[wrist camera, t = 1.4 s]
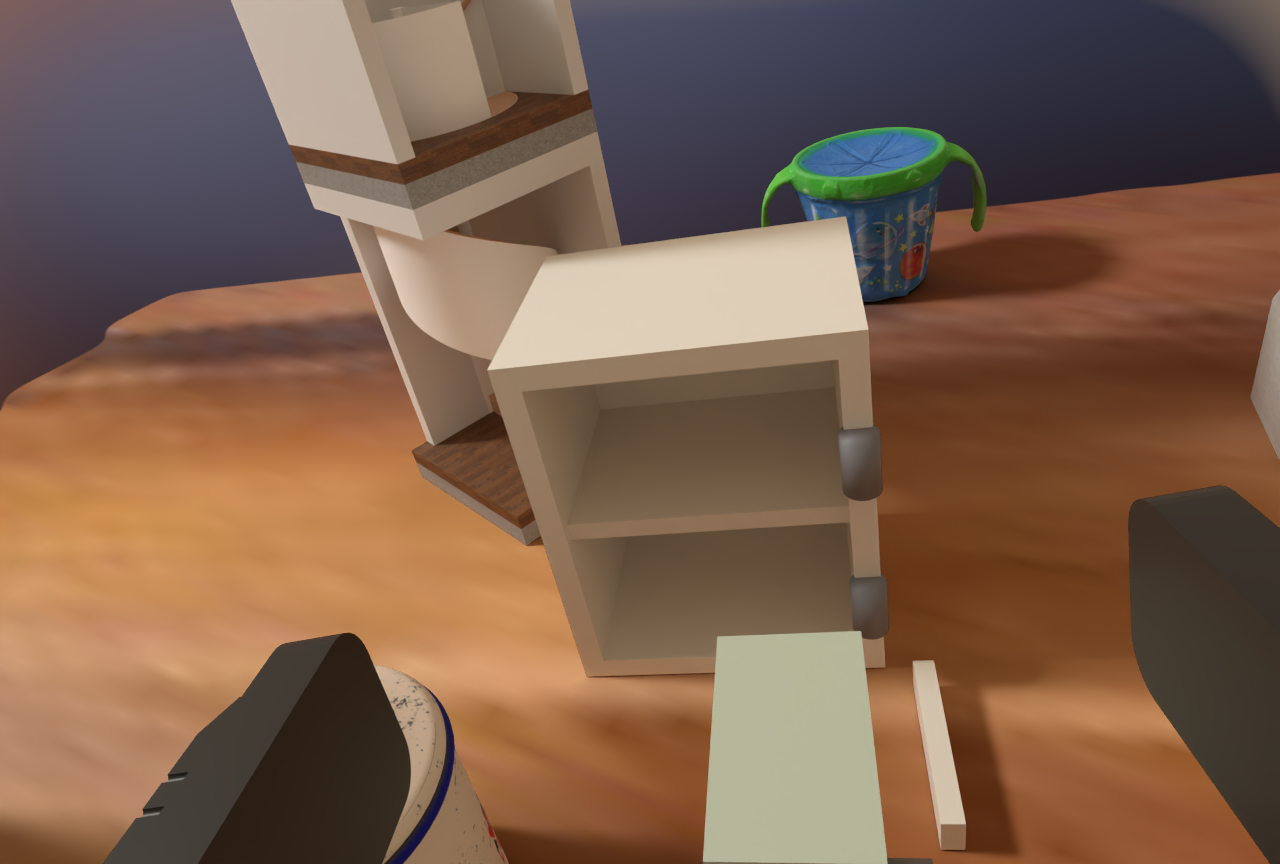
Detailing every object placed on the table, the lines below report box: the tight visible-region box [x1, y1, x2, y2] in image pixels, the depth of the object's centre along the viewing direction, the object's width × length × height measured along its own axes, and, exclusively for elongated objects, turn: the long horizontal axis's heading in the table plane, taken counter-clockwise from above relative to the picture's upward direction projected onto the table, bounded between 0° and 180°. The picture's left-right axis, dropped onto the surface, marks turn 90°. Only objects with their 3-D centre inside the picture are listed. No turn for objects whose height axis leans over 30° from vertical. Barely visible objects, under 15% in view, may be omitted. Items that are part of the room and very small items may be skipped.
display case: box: [231, 0, 621, 545], centre depth 45 cm, size 11×11×35 cm
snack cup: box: [761, 127, 986, 302], centre depth 64 cm, size 16×10×10 cm
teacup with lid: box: [374, 665, 509, 864], centre depth 29 cm, size 12×9×12 cm
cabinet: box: [487, 216, 966, 850], centre depth 34 cm, size 15×18×16 cm
